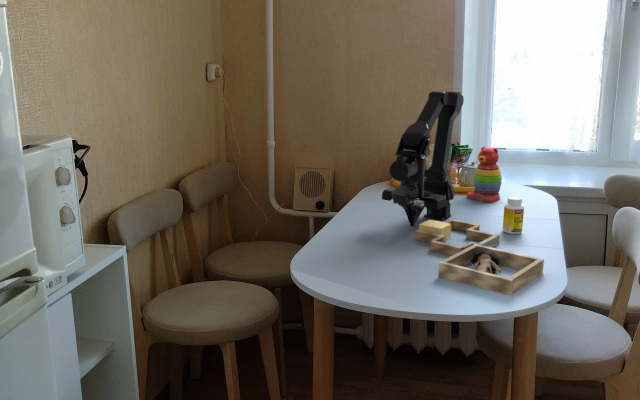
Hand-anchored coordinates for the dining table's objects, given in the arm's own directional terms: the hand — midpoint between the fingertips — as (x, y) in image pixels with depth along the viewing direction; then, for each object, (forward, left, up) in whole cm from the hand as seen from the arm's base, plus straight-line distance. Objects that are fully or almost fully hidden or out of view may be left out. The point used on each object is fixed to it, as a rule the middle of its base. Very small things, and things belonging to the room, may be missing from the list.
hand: (412, 226), depth 197 cm
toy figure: (+32, -18, -2) cm, 37 cm away
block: (+8, 0, -2) cm, 8 cm away
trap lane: (+15, 0, -2) cm, 15 cm away
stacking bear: (-1, +49, -2) cm, 50 cm away
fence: (+34, -18, -2) cm, 38 cm away
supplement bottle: (+23, +18, -2) cm, 29 cm away
